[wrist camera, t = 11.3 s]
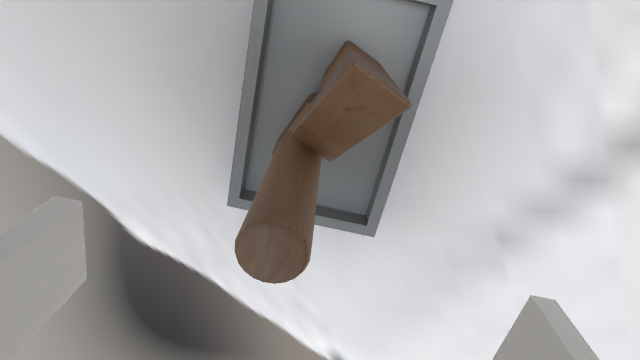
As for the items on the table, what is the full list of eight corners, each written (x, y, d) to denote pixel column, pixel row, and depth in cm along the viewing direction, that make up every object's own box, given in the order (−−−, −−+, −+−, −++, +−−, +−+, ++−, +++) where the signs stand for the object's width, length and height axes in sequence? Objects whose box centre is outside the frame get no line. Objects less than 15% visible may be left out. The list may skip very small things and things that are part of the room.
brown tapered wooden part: (382, 65, 31) (433, 128, 14) (309, 163, 35) (282, 301, 18) (346, 37, 30) (356, 70, 14) (275, 141, 34) (216, 264, 18)
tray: (268, -49, 29) (261, -55, 26) (444, -5, 29) (455, -7, 27) (235, 191, 37) (227, 205, 35) (371, 220, 38) (374, 237, 35)
